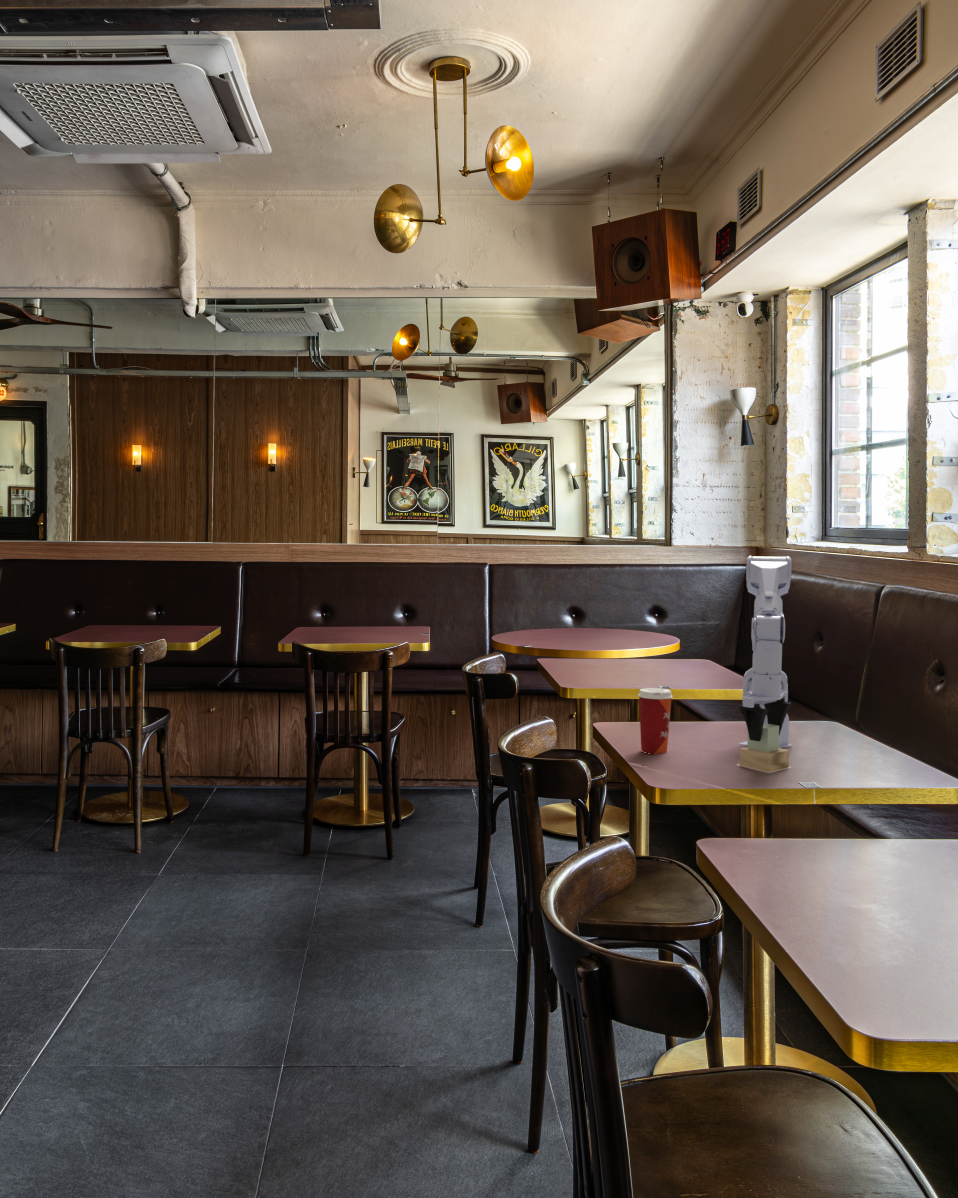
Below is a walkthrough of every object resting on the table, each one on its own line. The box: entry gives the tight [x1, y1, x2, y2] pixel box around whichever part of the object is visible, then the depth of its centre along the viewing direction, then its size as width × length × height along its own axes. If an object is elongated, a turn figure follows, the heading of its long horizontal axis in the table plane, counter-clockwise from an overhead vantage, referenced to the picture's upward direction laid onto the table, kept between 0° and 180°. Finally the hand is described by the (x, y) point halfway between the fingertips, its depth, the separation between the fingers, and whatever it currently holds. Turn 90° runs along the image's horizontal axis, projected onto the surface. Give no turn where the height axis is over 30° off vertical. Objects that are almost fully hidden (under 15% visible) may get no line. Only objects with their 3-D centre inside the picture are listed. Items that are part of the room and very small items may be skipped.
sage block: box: [747, 723, 779, 753], centre depth 181 cm, size 4×4×5 cm
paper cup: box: [637, 687, 674, 755], centre depth 195 cm, size 8×8×14 cm
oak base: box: [739, 746, 790, 773], centre depth 181 cm, size 7×7×4 cm
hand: (764, 737), depth 181 cm, fingers open, 7 cm apart
